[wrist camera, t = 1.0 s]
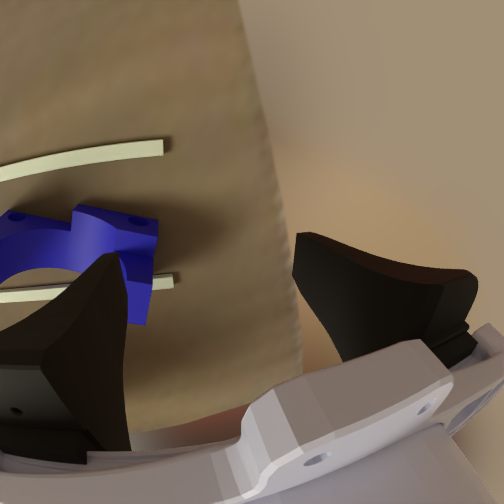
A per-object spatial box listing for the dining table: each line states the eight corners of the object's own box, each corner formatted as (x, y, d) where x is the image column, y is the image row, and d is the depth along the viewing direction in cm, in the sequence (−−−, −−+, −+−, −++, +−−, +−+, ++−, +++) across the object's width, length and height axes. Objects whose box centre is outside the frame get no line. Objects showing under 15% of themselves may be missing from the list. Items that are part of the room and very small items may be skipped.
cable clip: (158, 219, 20) (158, 261, 15) (146, 273, 21) (145, 325, 16) (9, 190, 15) (-32, 221, 10) (9, 245, 17) (-24, 287, 12)
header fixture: (173, 284, 22) (178, 326, 18) (-50, 302, 16) (-70, 334, 12) (162, 139, 17) (162, 148, 13) (-84, 196, 11) (-115, 218, 6)
